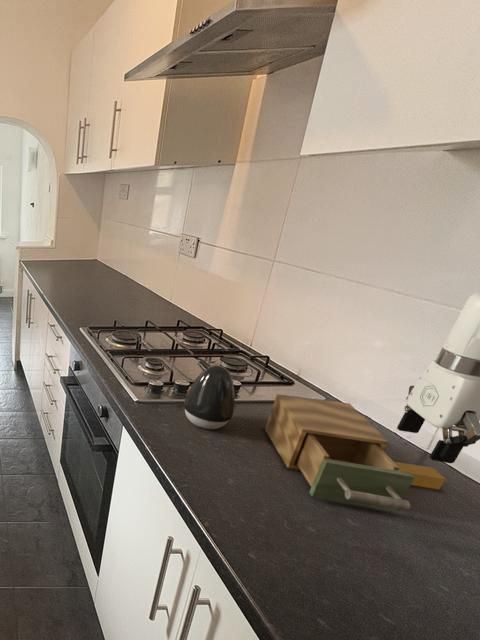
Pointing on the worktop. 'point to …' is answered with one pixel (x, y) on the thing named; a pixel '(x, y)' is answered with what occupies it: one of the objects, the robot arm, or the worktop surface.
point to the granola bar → (423, 475)
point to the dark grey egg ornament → (210, 398)
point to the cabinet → (315, 424)
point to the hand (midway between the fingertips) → (422, 445)
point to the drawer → (353, 473)
